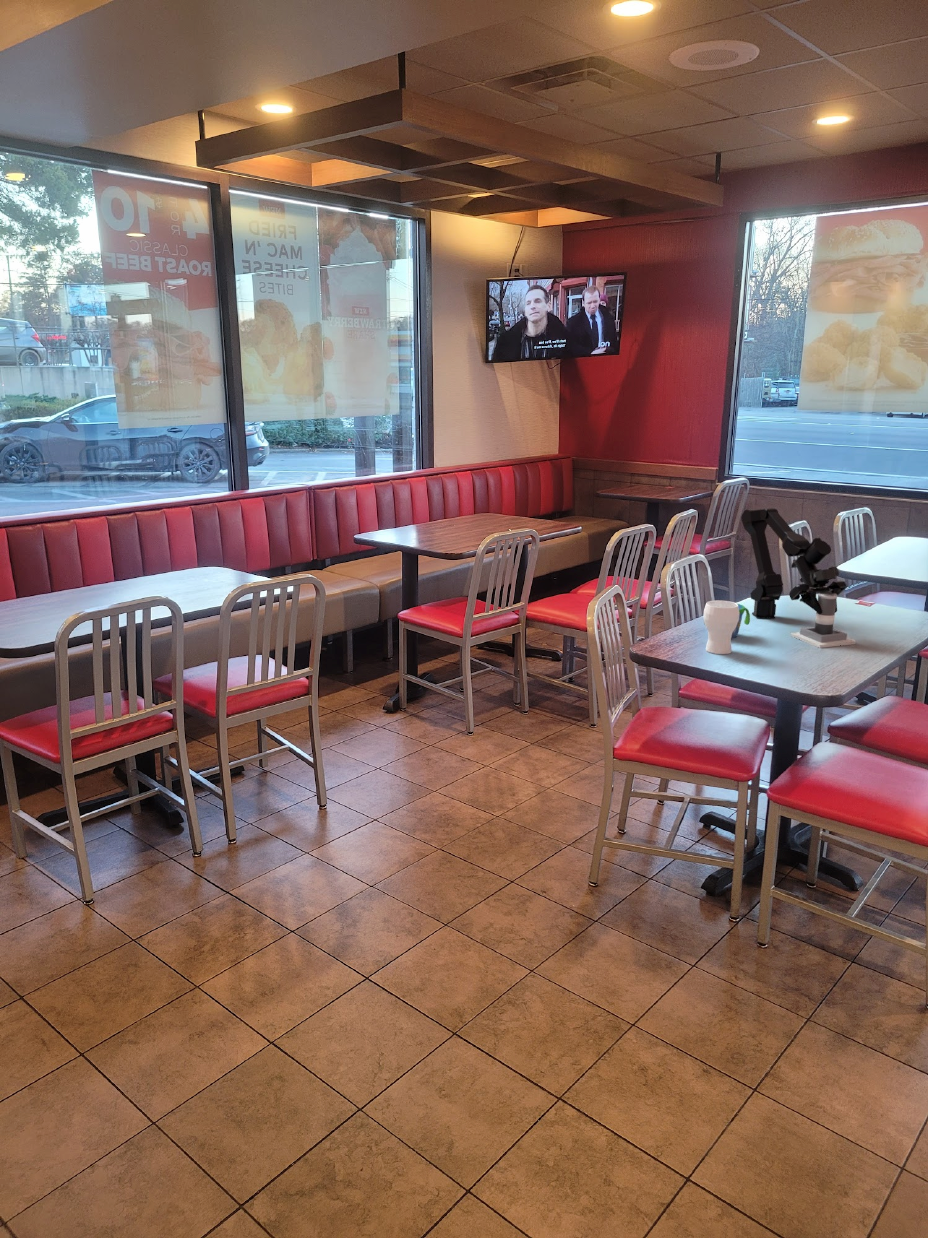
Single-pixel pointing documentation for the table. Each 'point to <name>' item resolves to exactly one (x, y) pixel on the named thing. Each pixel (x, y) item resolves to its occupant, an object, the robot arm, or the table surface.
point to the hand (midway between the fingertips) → (828, 612)
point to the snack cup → (747, 619)
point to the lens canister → (825, 613)
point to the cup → (720, 625)
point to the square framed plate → (823, 638)
